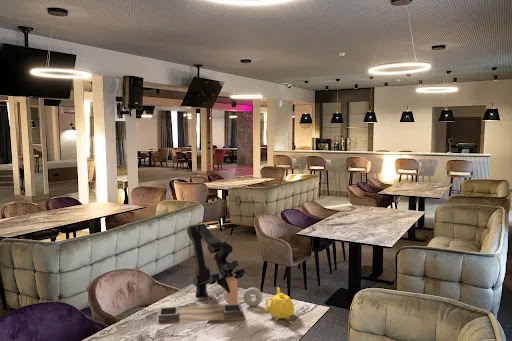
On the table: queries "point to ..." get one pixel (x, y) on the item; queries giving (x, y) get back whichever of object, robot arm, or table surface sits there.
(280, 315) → the teapot
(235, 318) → the puzzle board
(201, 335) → the table surface
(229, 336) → the table surface
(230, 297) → the block
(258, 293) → the donut
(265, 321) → the table surface
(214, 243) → the robot arm
